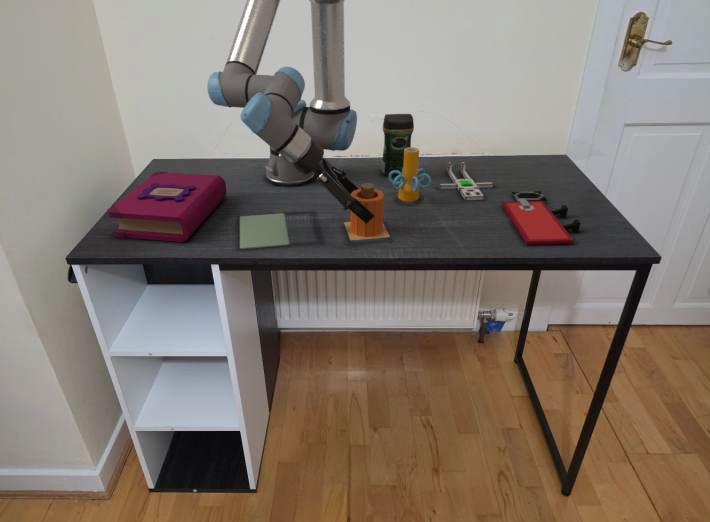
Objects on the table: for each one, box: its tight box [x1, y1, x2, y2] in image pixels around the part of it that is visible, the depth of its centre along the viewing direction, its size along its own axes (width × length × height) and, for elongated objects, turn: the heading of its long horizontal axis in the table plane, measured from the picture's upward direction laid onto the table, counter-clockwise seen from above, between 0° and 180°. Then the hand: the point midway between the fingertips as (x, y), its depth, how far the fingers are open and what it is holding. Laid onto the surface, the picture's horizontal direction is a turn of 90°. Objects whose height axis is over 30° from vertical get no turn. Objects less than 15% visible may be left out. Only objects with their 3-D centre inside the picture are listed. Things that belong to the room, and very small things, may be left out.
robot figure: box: [438, 161, 495, 201], centre depth 158 cm, size 16×3×22 cm
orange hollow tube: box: [349, 188, 385, 237], centre depth 130 cm, size 8×8×10 cm
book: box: [106, 171, 227, 243], centre depth 140 cm, size 21×28×8 cm
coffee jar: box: [380, 113, 415, 177], centre depth 163 cm, size 10×8×19 cm
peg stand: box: [343, 182, 391, 241], centre depth 129 cm, size 10×10×13 cm
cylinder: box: [388, 146, 432, 202], centre depth 146 cm, size 12×10×15 cm
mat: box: [239, 212, 290, 250], centre depth 135 cm, size 18×20×1 cm
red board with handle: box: [501, 190, 581, 246], centre depth 139 cm, size 30×3×15 cm
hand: (364, 207), depth 129 cm, fingers open, 13 cm apart
